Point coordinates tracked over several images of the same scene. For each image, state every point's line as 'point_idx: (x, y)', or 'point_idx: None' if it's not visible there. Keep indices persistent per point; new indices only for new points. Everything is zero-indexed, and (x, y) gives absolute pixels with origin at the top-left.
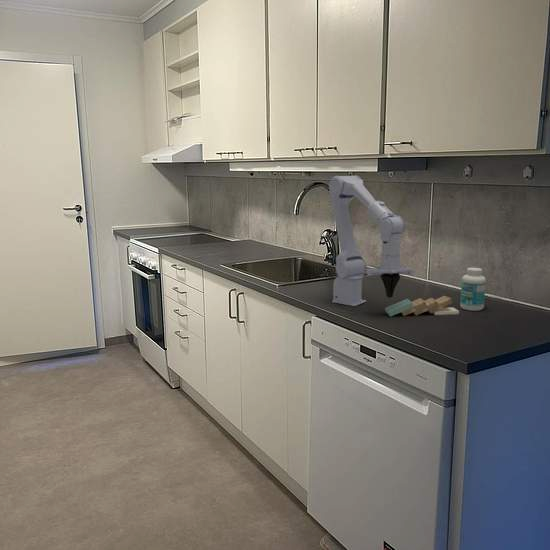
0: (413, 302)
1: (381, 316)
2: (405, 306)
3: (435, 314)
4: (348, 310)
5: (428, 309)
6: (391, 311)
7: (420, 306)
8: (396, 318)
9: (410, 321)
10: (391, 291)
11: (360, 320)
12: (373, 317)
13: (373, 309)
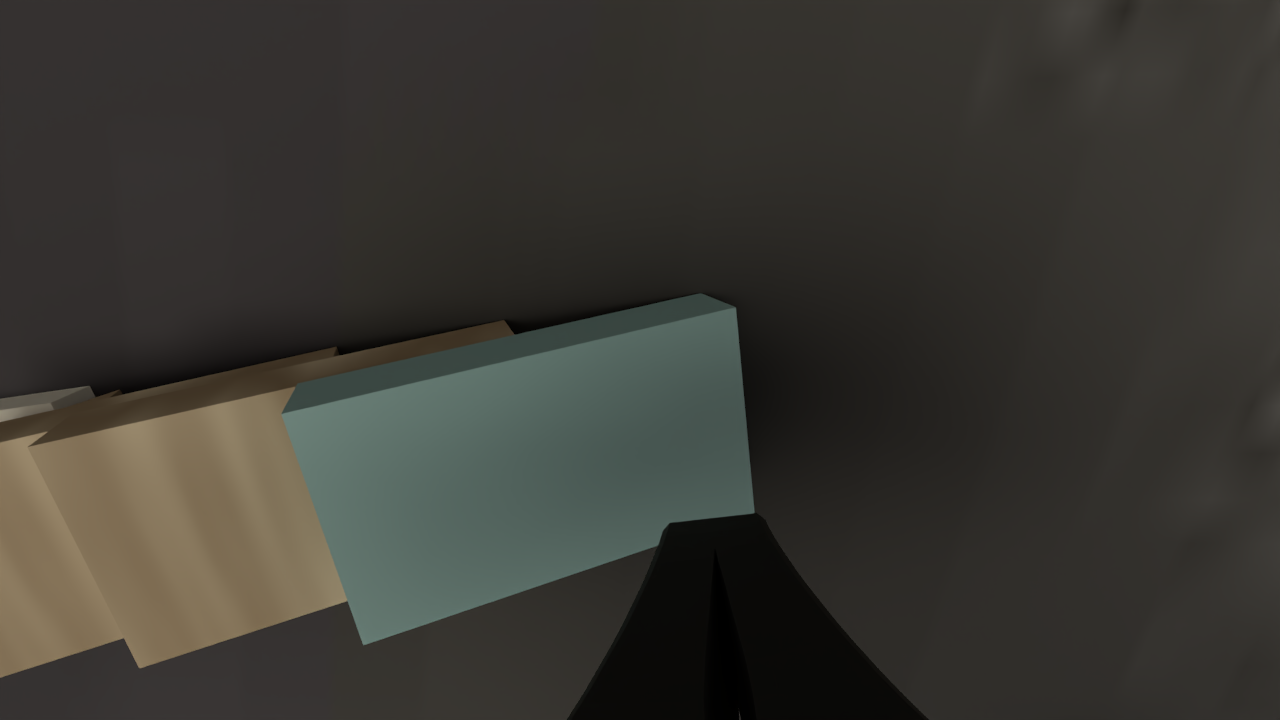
0: (285, 559)
1: (829, 306)
2: (433, 371)
3: (76, 389)
4: (1213, 582)
5: (102, 401)
6: (688, 315)
7: (181, 400)
8: (623, 203)
9: (425, 33)
10: (703, 595)
11: (1242, 65)
12: (965, 250)
13: (858, 619)
